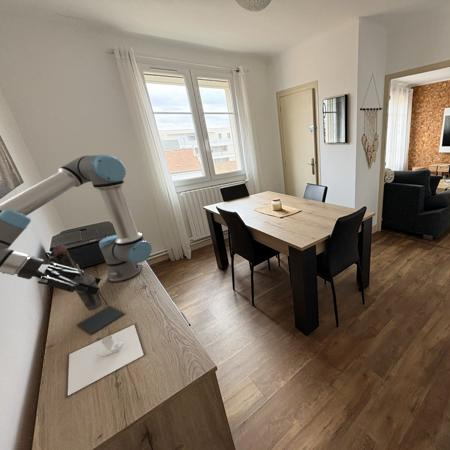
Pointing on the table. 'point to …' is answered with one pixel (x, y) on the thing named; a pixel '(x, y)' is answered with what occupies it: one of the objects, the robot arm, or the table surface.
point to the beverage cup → (87, 298)
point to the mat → (100, 319)
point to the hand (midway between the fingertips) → (98, 286)
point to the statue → (63, 257)
